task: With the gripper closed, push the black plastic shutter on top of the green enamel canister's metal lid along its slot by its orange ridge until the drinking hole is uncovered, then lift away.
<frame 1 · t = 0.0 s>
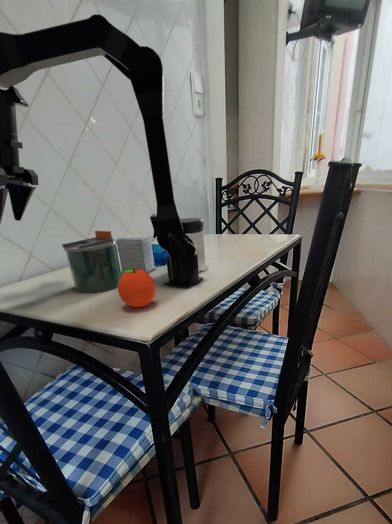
hand: (7, 222, 63), 15 cm above the table, tool pointing down, fingers open, 9 cm apart
clementine: (137, 307, 60), on the table
canister: (99, 285, 74), on the table
medicine box: (138, 271, 84), on the table
jar: (190, 270, 82), on the table
slider: (96, 237, 71), point 11 cm above the table, slide at 0.0 cm
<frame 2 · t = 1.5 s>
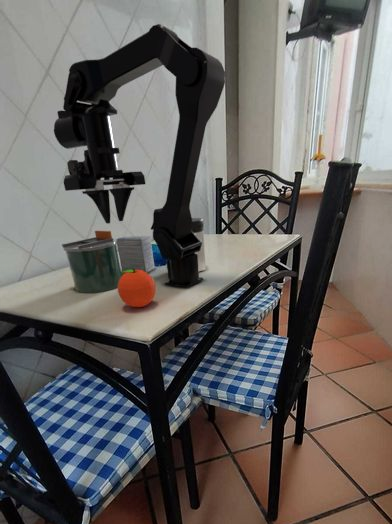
hand: (114, 222, 74), 13 cm above the table, tool pointing down, fingers open, 4 cm apart
nothing on the table moved.
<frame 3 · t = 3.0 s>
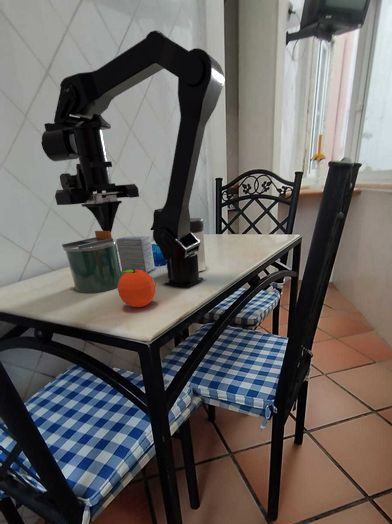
hand: (107, 235, 73), 11 cm above the table, tool pointing down, fingers closed
slider: (96, 237, 71), point 11 cm above the table, slide at 0.0 cm, touching gripper
everything else where it was.
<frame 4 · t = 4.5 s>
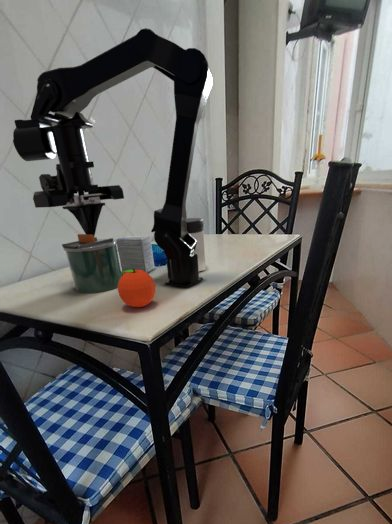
hand: (91, 238, 70), 11 cm above the table, tool pointing down, fingers closed
slider: (78, 241, 67), point 11 cm above the table, slide at 4.8 cm, touching gripper
everything else where it was.
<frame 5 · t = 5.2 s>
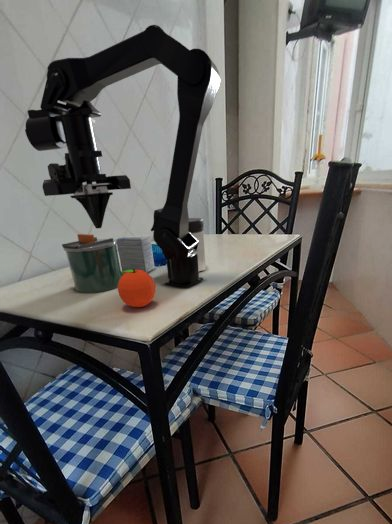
hand: (98, 228, 70), 12 cm above the table, tool pointing down, fingers closed
slider: (78, 241, 67), point 11 cm above the table, slide at 4.8 cm
everything else where it was.
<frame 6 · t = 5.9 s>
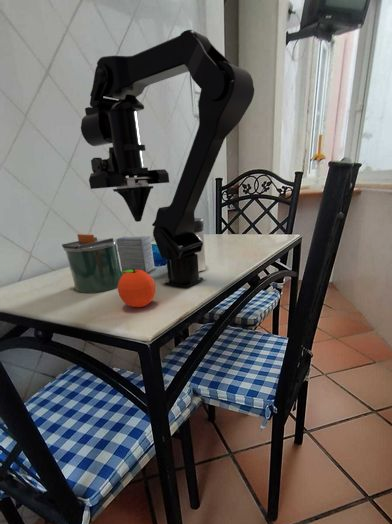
hand: (138, 221, 72), 13 cm above the table, tool pointing down, fingers closed
nothing on the table moved.
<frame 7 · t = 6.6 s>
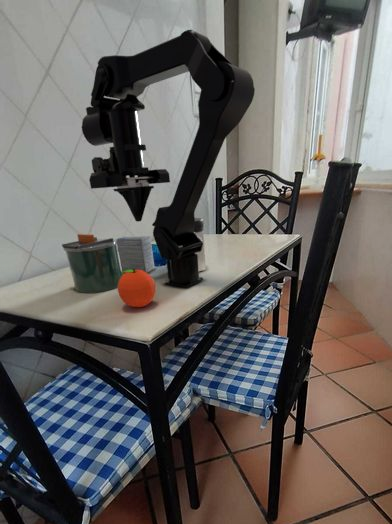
hand: (138, 221, 72), 13 cm above the table, tool pointing down, fingers closed
nothing on the table moved.
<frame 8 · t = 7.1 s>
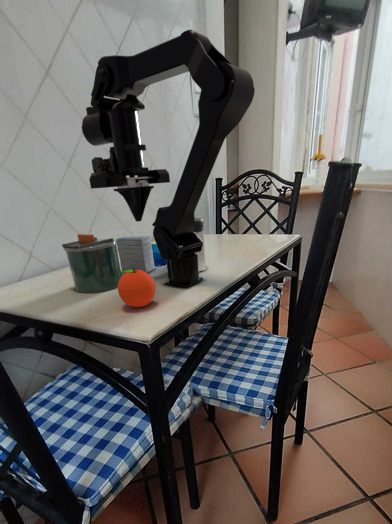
hand: (138, 221, 72), 13 cm above the table, tool pointing down, fingers closed
nothing on the table moved.
at the end: slider slide at 4.8 cm; medicine box moved 0.2 cm from its start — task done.
